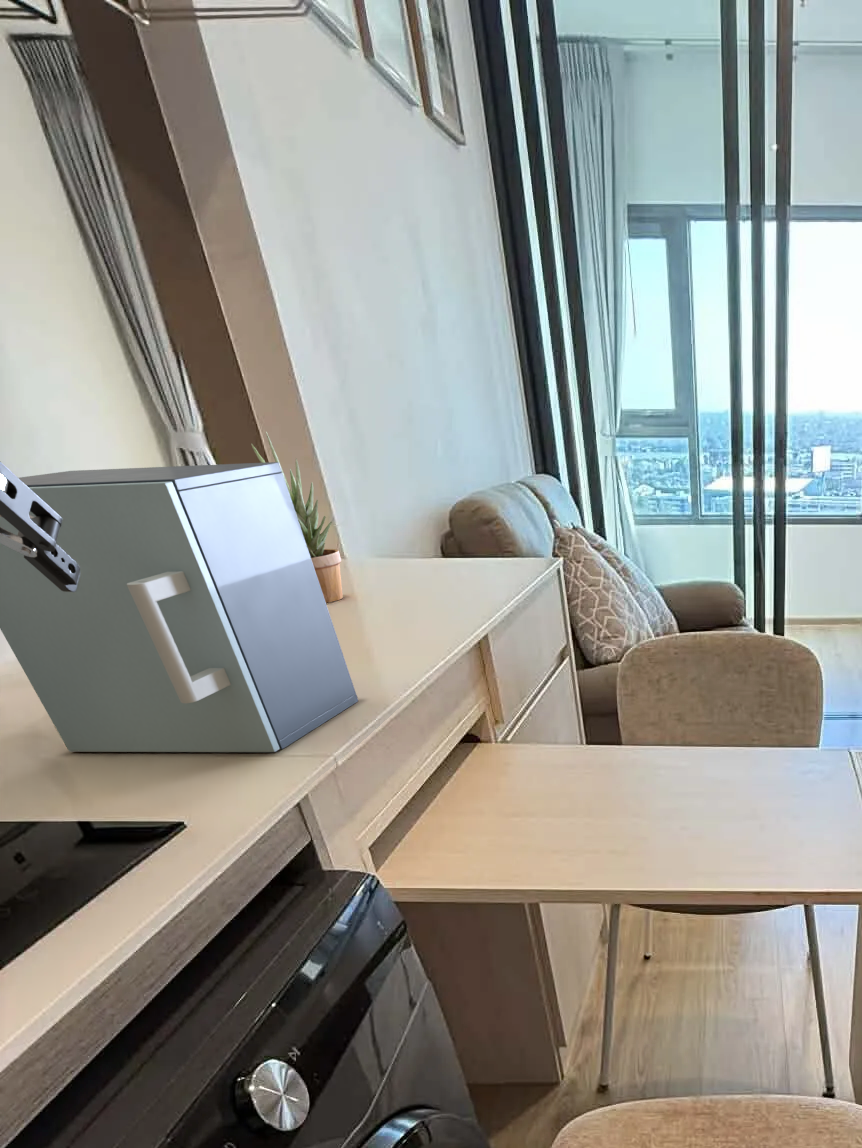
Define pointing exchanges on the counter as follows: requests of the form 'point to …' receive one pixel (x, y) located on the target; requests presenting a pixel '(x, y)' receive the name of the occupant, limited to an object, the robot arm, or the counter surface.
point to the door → (130, 630)
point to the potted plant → (314, 535)
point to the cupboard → (256, 583)
